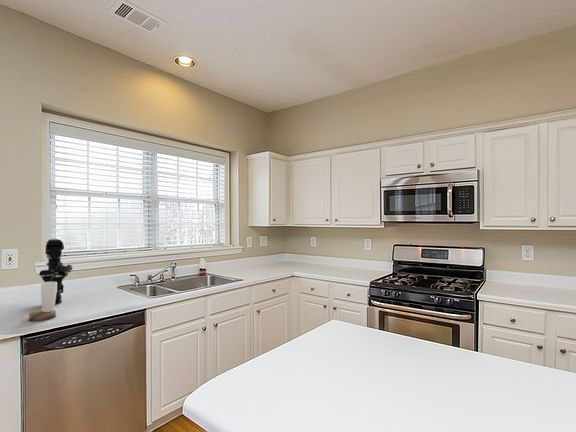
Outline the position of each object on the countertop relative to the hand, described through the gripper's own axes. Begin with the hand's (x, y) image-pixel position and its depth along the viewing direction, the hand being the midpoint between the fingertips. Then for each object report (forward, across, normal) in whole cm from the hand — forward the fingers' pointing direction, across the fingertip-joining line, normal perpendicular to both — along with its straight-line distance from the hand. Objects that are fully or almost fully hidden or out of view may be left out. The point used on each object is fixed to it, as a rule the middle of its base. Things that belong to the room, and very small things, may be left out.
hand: (54, 288), depth 184 cm
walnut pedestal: (+15, -14, -1) cm, 20 cm away
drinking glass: (+12, -13, -4) cm, 18 cm away
